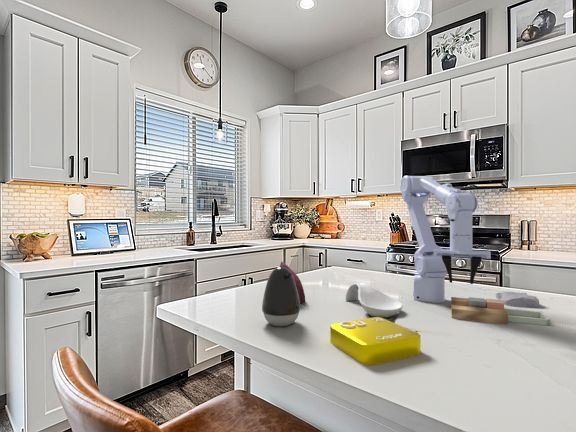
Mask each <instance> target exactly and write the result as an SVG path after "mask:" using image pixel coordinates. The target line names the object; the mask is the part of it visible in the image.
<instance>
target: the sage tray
mask: <svg viewBox="0 0 576 432" xmlns="http://www.w3.org/2000/svg"><path fill="white" fill-rule="evenodd" d="M504 310H506V312H507V313H508V322H513V323H520V324H521V323H524V324H532V325H540V326H549V327H550V326H551V320H550V318H548V316H547V314H545V313H544V312H543V311H536V310H529V309H515V308H505V307H504Z"/></svg>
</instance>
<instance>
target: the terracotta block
mask: <svg viewBox="0 0 576 432" xmlns="http://www.w3.org/2000/svg"><path fill="white" fill-rule="evenodd" d="M485 300H486V308H488V309H498V310H504V308H505V305H504V302H503V301H502V300H498V299H493V298H485Z"/></svg>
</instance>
